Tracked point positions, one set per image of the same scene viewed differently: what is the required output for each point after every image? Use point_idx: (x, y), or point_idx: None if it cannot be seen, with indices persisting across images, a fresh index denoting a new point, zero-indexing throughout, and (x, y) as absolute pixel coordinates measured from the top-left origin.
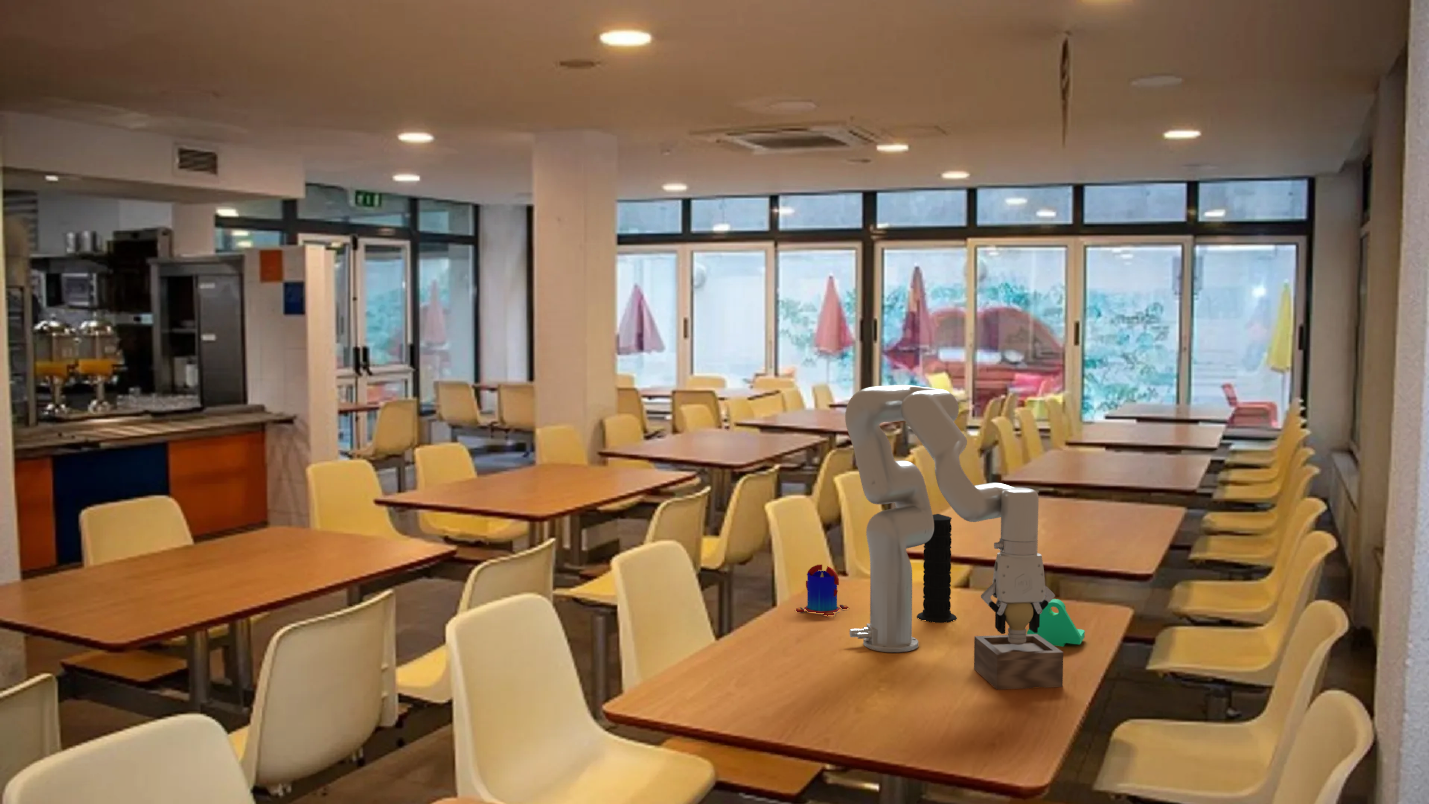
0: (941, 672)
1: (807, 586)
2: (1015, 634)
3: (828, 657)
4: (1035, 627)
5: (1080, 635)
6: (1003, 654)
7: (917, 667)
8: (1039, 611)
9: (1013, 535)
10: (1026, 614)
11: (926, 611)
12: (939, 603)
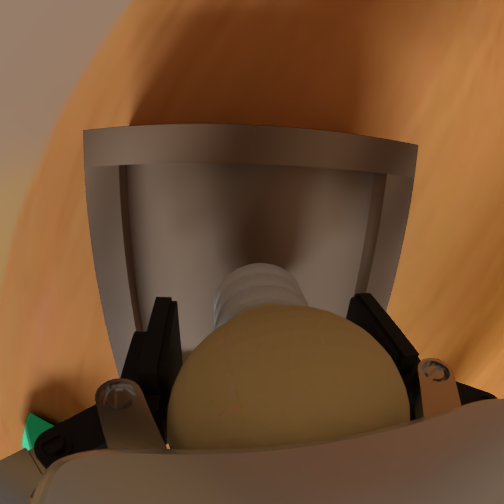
0: (411, 301)
1: None
2: (292, 292)
3: (495, 373)
4: (167, 311)
5: (25, 429)
6: (393, 142)
7: (431, 335)
8: (118, 396)
9: None
10: (271, 336)
11: None
12: None
